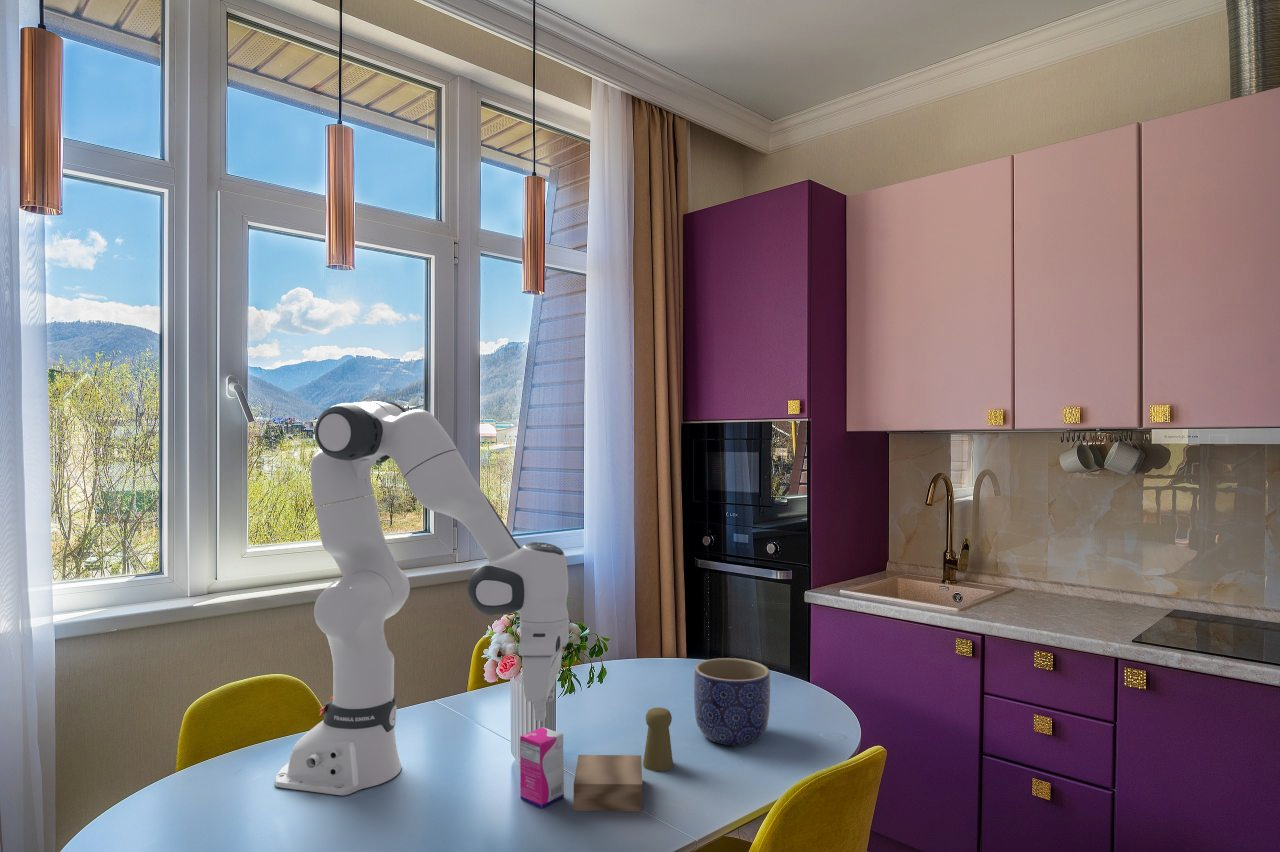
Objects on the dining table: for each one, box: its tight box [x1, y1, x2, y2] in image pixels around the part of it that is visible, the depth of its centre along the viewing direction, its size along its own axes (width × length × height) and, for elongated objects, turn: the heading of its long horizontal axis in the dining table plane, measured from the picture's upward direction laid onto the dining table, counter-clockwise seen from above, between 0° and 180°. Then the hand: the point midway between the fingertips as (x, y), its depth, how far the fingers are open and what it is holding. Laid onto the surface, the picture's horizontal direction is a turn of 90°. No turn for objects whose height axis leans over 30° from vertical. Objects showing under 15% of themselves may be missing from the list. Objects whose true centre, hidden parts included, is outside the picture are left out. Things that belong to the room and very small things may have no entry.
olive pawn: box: [642, 707, 674, 772], centre depth 152 cm, size 6×6×11 cm
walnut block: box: [572, 754, 643, 812], centre depth 139 cm, size 12×12×5 cm
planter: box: [693, 657, 771, 747], centre depth 166 cm, size 17×17×15 cm
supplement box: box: [519, 726, 565, 809], centre depth 137 cm, size 6×6×12 cm
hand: (544, 709), depth 137 cm, fingers open, 8 cm apart
